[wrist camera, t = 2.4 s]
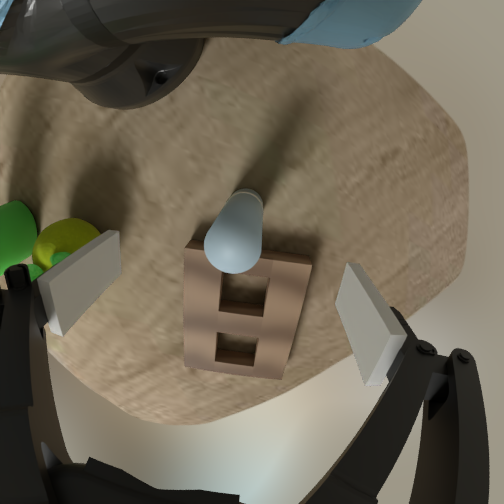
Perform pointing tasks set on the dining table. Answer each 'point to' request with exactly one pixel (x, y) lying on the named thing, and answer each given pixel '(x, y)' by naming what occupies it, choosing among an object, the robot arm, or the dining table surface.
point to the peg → (236, 233)
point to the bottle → (15, 234)
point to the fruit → (59, 243)
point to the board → (242, 313)
